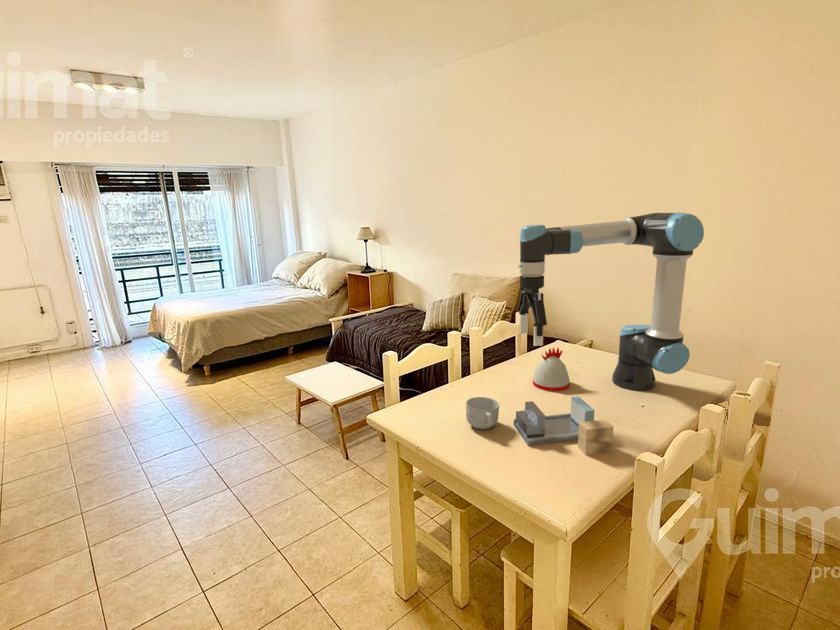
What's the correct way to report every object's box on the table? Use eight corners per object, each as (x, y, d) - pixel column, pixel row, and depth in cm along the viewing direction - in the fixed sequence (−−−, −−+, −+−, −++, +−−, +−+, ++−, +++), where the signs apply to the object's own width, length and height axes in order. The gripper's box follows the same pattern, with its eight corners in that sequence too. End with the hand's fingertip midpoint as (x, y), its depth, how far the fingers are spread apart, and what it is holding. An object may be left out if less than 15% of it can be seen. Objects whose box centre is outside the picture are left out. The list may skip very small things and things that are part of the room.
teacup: (465, 417, 148) (464, 396, 146) (497, 416, 148) (496, 395, 146) (468, 438, 135) (467, 415, 133) (503, 438, 134) (503, 414, 132)
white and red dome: (575, 389, 166) (577, 352, 163) (541, 393, 165) (542, 355, 161) (559, 376, 180) (560, 341, 176) (527, 379, 178) (528, 344, 174)
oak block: (603, 443, 129) (605, 419, 127) (611, 452, 124) (613, 426, 122) (577, 446, 128) (579, 422, 126) (585, 455, 123) (586, 429, 121)
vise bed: (583, 417, 144) (583, 411, 144) (604, 437, 132) (604, 431, 131) (513, 424, 142) (513, 418, 141) (527, 445, 129) (528, 439, 129)
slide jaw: (577, 416, 142) (578, 396, 141) (593, 431, 133) (594, 410, 131) (569, 416, 142) (570, 397, 140) (584, 432, 132) (585, 411, 131)
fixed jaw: (532, 420, 141) (533, 401, 139) (545, 436, 131) (545, 415, 129) (515, 422, 140) (516, 402, 138) (527, 438, 130) (527, 417, 129)
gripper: (508, 270, 149) (508, 329, 154) (534, 282, 125) (533, 352, 130) (529, 268, 150) (528, 328, 155) (559, 280, 126) (557, 350, 131)
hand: (530, 339), depth 142 cm, fingers open, 13 cm apart
